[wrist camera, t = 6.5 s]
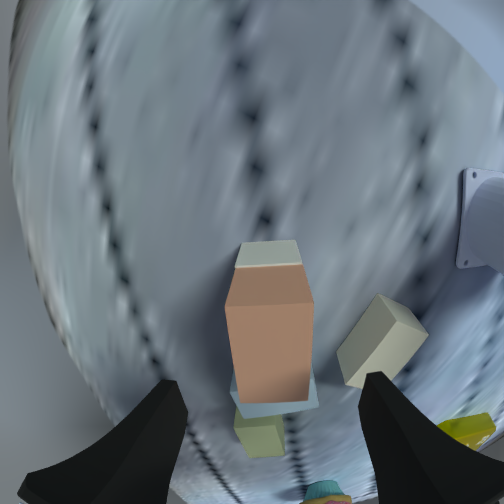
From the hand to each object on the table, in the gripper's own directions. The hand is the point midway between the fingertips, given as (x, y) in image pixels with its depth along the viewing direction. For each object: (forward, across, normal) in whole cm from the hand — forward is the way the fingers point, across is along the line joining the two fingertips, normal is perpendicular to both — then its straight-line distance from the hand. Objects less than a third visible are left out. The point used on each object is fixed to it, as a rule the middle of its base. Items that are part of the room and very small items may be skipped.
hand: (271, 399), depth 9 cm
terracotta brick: (+6, 0, 0) cm, 6 cm away
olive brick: (+10, +2, +14) cm, 18 cm away
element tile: (+11, -27, +33) cm, 44 cm away
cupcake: (+11, -7, +38) cm, 40 cm away
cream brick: (+10, -8, +5) cm, 14 cm away
